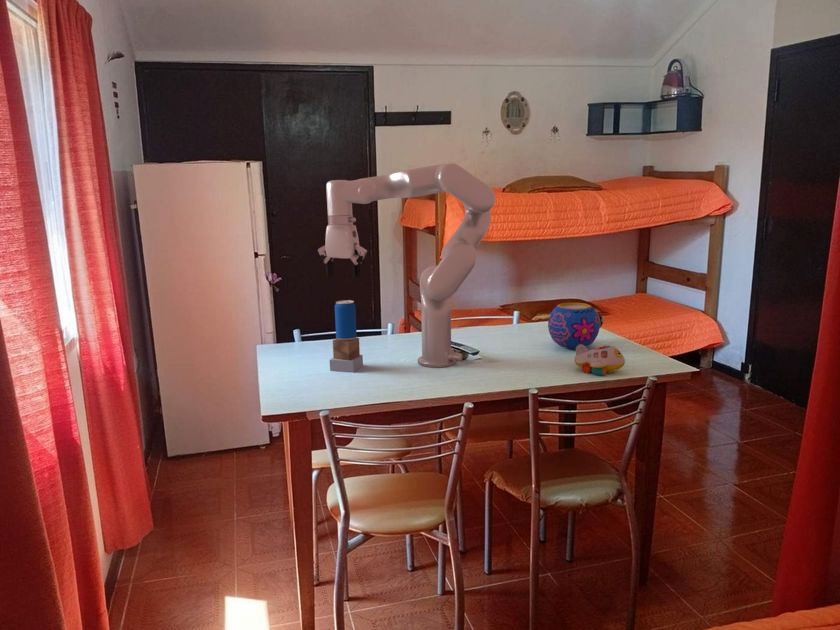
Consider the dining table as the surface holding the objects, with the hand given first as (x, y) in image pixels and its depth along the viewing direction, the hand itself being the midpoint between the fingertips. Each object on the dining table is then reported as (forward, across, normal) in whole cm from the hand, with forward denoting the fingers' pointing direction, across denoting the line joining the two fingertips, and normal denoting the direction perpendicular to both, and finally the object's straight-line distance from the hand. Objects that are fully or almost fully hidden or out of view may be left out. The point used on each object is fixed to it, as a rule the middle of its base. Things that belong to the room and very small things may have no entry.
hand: (343, 276), depth 209 cm
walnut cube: (+26, 0, 0) cm, 26 cm away
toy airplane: (+31, -74, -27) cm, 84 cm away
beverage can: (+20, 0, 0) cm, 20 cm away
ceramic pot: (+31, -60, -53) cm, 85 cm away
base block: (+30, 0, 0) cm, 30 cm away
